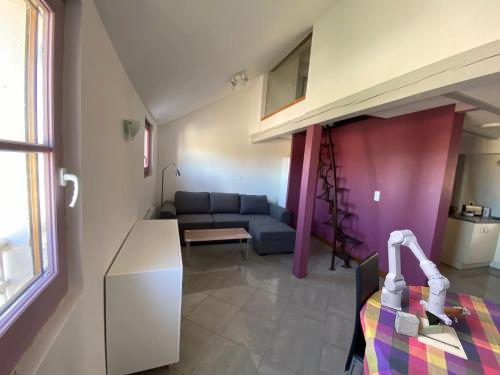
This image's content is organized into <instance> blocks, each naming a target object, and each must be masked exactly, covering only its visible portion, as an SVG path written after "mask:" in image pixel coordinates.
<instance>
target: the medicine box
mask: <svg viewBox="0 0 500 375" xmlns="http://www.w3.org/2000/svg"><path fill="white" fill-rule="evenodd" d="M418 327H419V320H418V319H417V317H416V315H415V314H412V313H409V312H404V311H399V310H396V312H395V321H394V328H395V331H396V333H397V334H400V335H404V336H409V337H412V338H416V339H418V337H417V334H418Z"/></svg>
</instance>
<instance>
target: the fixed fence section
mask: <svg viewBox="0 0 500 375" xmlns="http://www.w3.org/2000/svg"><path fill="white" fill-rule="evenodd" d="M414 315H416V317H417V319H418V320H419V325H421V321H420V317H421V316H420V312H419V310H415V312H414Z"/></svg>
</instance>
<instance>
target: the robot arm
mask: <svg viewBox="0 0 500 375" xmlns="http://www.w3.org/2000/svg"><path fill="white" fill-rule="evenodd" d="M389 236H390V237H389V239H388V240H387V248H388V249H387V250H388V252H387V254H388V273H387V275H386V276H385V281H384V286H382V290H381V295H380V304H381V306H385V307H388V308H391V309H394V310H396V311H399V312H403V311H402V296H403V290H404V289H406V288H407V283H406V281H405V277H404V275H402V274H401V272H402V271H401V267H402V266H401V251H400V250H401V246H404V247H407V248H409V249H410V250H411V252H412V253H413V255H414V256H415V257H416V259H417V260H418V261H419V267H420V268H421V270H422V272H423V274H424V275H425V276H426V277H427V279H428V281H427V284H428V286H429V293H428V300H427V301H425V300H422V299H421V300H419V305H421V306H424V308H425V309H426V310H425V311H424V313H425V316H426V319H428V322H429V326H431V325H438V324H439V323H440V324H441V322H442V321H443V322H444V323H445V324H444V325H446V326H452V323H453V321H452V320H451V319H450V318H449V316H448V315H447V316H446V315H445V314H444V311H443V310H444V306H445V302H446V297H447V296H446V295H447V290H448V289H449V288H450V287H451V282H450V281H449V279H448V278H447V277H445V276H444V275H443V274H441V273H440V270H439V269H438V268H437V265H436V264H435V263H434V262H433V261H432V260H430V259H428V258H427V256H426V254H425V253H424V251H423V249H422V248H421V246H420V245H419V243H418V239H417V237H416V236H415V235H414V233H413V231H412V230H410V229H401V230H394V231H392V232H391V233H389Z"/></svg>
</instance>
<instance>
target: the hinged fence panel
mask: <svg viewBox="0 0 500 375" xmlns="http://www.w3.org/2000/svg"><path fill="white" fill-rule="evenodd" d="M444 325H445V324H443V323H440V325H431V326H421V325H419V327H418V334H419V335H422V334H433V333H443V330H444Z"/></svg>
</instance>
